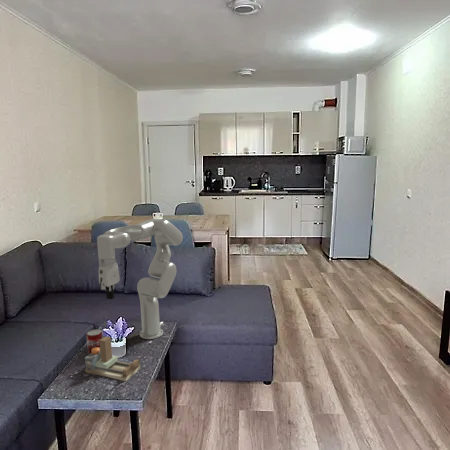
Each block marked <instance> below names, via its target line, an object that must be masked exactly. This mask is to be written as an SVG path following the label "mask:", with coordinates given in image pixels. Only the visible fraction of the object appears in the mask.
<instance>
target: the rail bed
mask: <svg viewBox="0 0 450 450" xmlns="http://www.w3.org/2000/svg"><path fill="white" fill-rule="evenodd" d="M99 348H100V347H99ZM100 359H101V352H100V353H98V354H92V353H90V354H89V355H88V354H87V355H86V356H84V364H85V369H84V371H85V373H86V374H91V375H97V376H101V377H106V378H110V379H114V380H118V381H119V380H120V381H124V382H126V381H128V380H129V379H130V378H131V377H133V376H134V375H135V374H136V373H137V372H139V370H140V369H141V365H140V364H141V363H140V359H135V360H133V361H132V362H131V363H130V362H124V361H119V360H118V361H117V362H115V363H114V364H113V365H112V366H110V367H109V368H108V369H104V368H100V367H96V362H97V361H99V360H100Z"/></svg>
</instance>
